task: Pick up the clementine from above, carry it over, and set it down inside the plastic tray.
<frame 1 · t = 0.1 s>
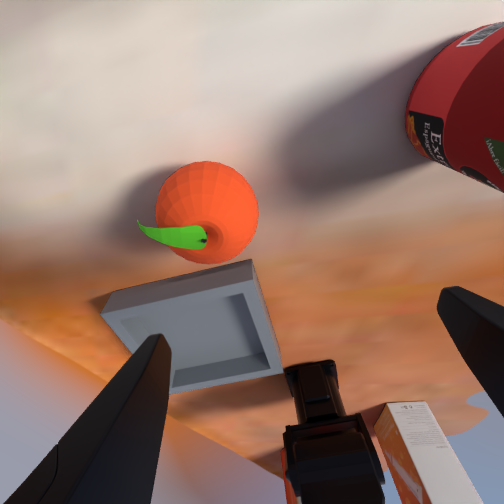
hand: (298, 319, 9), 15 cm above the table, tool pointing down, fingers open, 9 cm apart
clementine: (205, 194, 22), on the table
file binder: (323, 454, 51), on the table
tray: (205, 323, 30), on the table
small box: (396, 412, 44), on the table
canned food: (457, 98, 19), on the table
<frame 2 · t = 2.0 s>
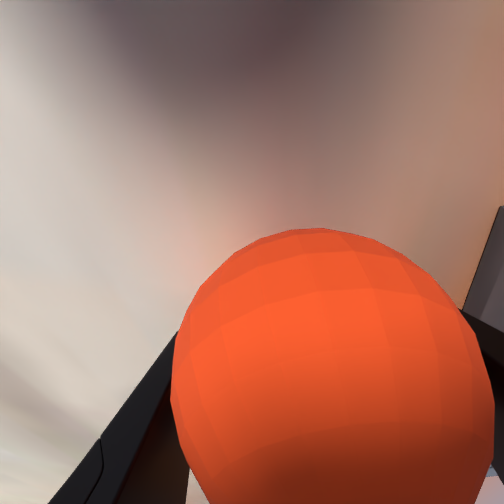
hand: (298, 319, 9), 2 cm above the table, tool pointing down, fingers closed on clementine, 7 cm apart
clementine: (286, 286, 10), on the table, touching gripper
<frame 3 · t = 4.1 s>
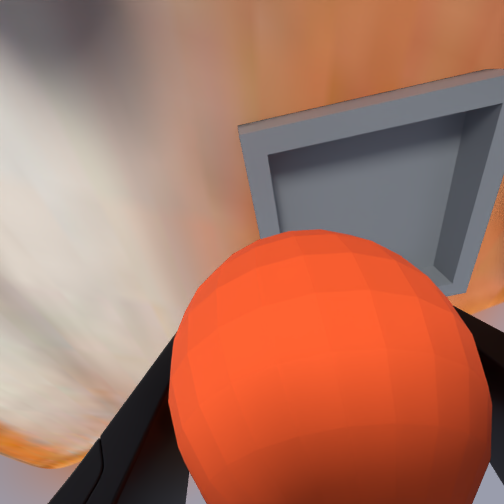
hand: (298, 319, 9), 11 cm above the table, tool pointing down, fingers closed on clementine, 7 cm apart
clementine: (285, 286, 10), point 9 cm above the table, touching gripper
tray: (356, 210, 19), on the table
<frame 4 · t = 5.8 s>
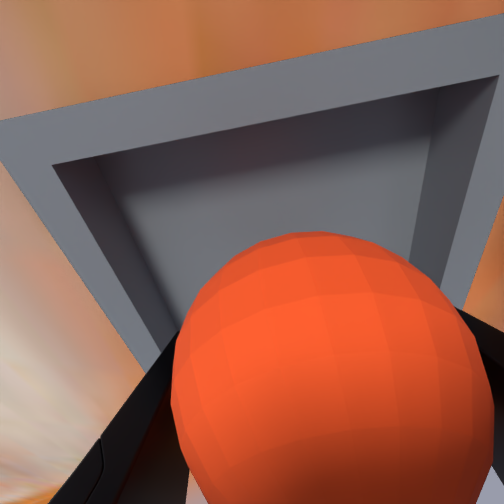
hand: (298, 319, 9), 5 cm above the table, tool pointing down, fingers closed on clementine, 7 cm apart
clementine: (286, 287, 10), point 3 cm above the table, touching gripper
tray: (277, 246, 13), on the table
when the fingers open (4 cm above the table, at t = 6.5 s): clementine drops 2 cm, resting on tray.
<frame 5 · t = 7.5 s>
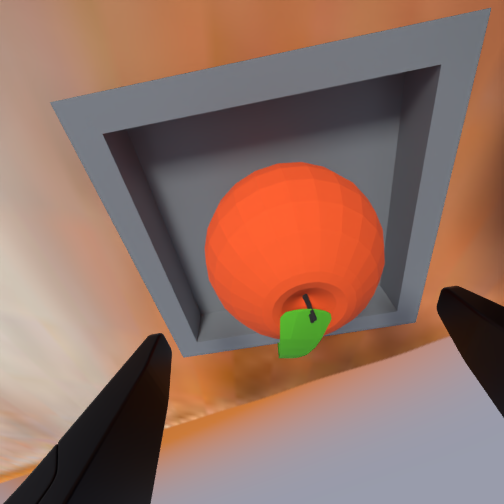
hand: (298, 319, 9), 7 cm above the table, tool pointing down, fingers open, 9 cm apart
clementine: (276, 220, 14), point 1 cm above the table, touching tray
tray: (276, 214, 15), on the table
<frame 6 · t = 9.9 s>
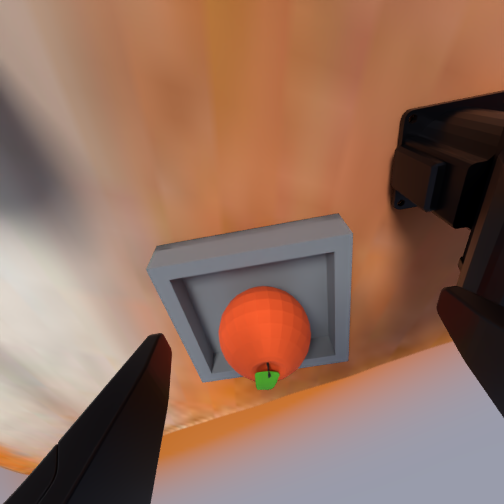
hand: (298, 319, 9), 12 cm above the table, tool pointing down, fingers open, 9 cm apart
clementine: (260, 302, 24), point 1 cm above the table, touching tray
tray: (260, 296, 24), on the table
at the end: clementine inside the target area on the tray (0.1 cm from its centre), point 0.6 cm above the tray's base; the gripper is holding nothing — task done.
